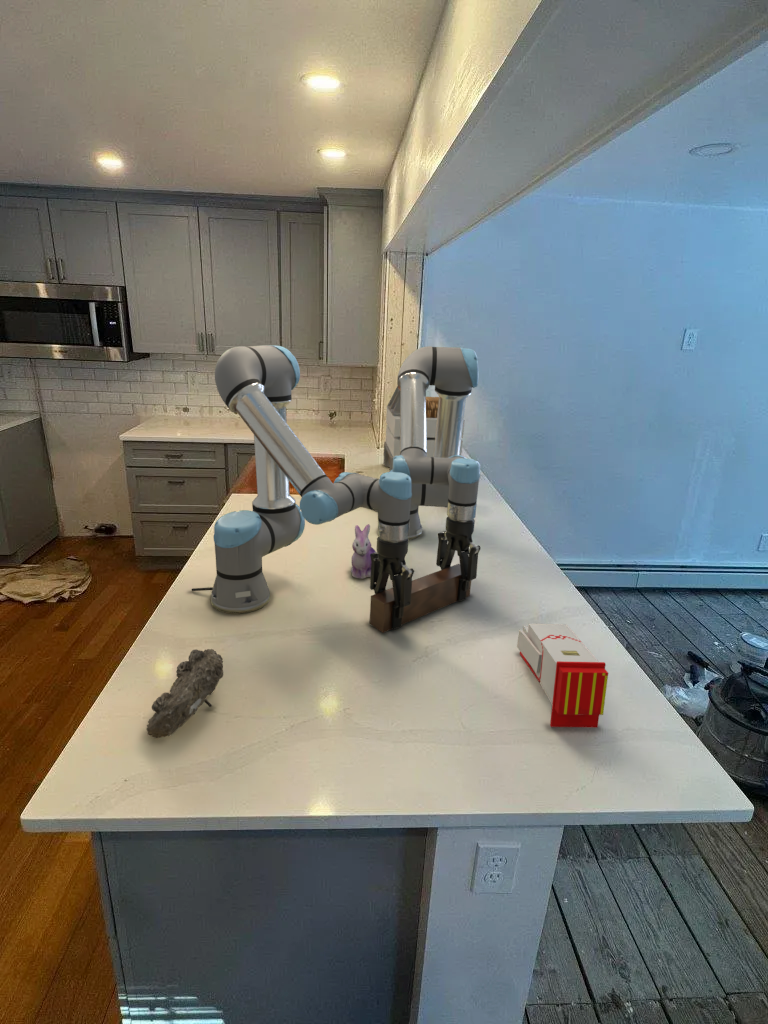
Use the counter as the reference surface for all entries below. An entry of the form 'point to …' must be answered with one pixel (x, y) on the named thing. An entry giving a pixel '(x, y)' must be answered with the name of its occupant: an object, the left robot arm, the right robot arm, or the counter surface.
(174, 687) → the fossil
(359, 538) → the figurine
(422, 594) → the plank
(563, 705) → the toy
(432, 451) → the transformer
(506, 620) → the counter surface
